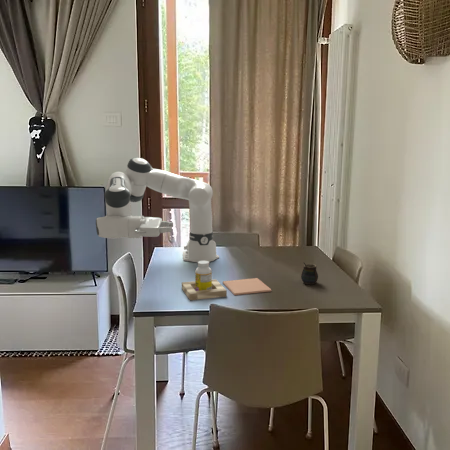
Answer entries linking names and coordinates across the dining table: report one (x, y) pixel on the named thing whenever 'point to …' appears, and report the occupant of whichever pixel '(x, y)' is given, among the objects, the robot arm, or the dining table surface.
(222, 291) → the frame
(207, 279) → the supplement bottle
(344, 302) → the dining table surface
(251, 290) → the terracotta tile
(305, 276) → the mate gourd
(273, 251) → the dining table surface
